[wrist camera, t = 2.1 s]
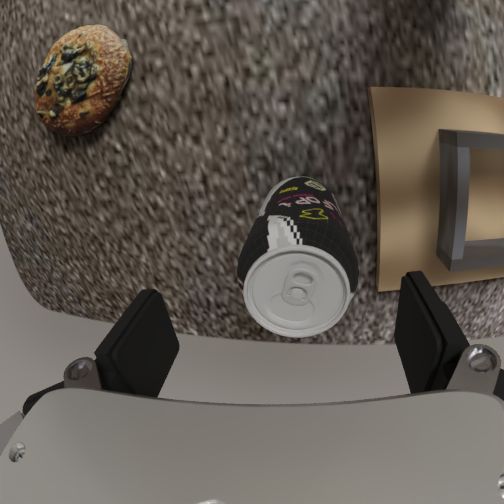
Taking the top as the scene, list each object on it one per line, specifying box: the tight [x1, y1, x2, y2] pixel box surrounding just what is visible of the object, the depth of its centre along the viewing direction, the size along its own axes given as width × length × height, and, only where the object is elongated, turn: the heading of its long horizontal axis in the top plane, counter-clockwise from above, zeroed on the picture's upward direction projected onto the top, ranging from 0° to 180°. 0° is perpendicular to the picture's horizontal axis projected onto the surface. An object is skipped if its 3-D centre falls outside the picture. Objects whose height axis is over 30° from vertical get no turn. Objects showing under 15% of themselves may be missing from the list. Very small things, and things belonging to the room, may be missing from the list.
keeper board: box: [367, 87, 504, 292], centre depth 18 cm, size 16×20×4 cm
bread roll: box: [35, 25, 132, 137], centre depth 19 cm, size 11×11×5 cm
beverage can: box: [237, 177, 359, 338], centre depth 18 cm, size 6×6×12 cm
